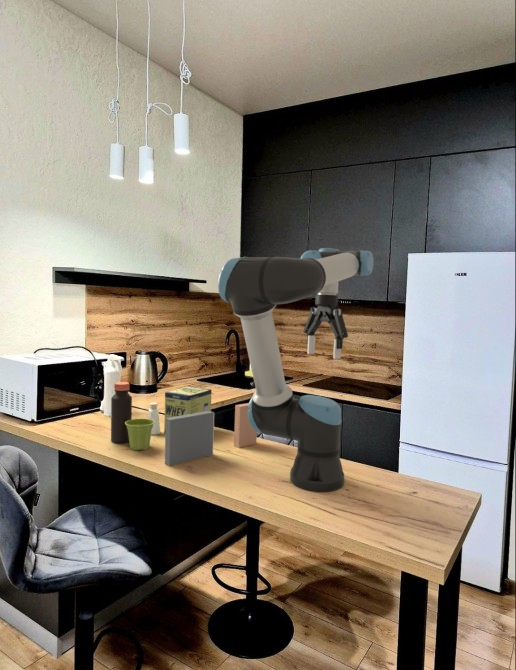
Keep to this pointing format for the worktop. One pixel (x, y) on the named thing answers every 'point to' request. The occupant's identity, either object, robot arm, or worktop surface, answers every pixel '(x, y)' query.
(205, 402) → the protein box
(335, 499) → the worktop surface
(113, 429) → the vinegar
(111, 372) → the white spray bottle
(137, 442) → the plant pot
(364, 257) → the robot arm
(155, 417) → the pepper shaker
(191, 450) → the board
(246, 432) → the stub
